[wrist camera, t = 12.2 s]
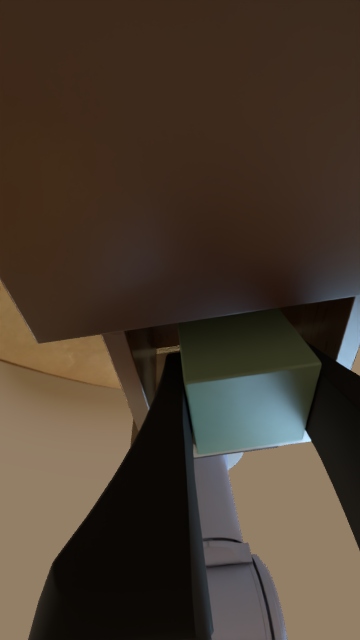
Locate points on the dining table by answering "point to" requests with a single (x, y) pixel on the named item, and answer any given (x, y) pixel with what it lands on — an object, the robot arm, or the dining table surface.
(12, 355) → the dining table surface
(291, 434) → the block
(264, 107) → the cabinet
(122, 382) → the drawer
